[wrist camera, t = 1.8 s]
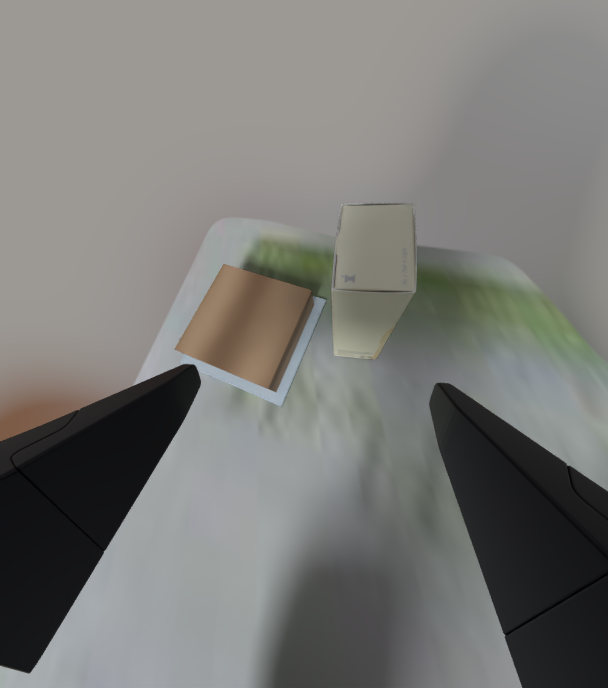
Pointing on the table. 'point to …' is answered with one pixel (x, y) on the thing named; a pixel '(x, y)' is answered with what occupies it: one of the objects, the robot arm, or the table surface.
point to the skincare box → (371, 275)
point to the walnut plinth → (248, 326)
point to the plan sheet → (289, 373)
